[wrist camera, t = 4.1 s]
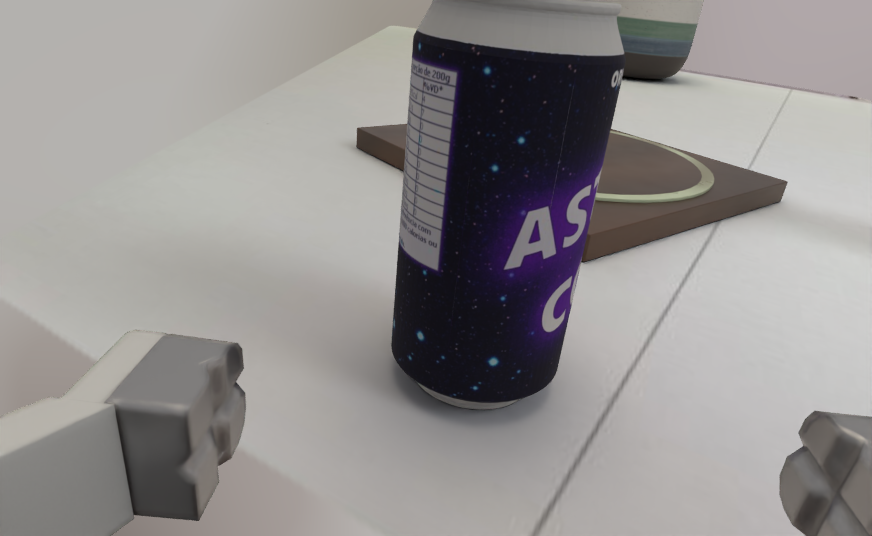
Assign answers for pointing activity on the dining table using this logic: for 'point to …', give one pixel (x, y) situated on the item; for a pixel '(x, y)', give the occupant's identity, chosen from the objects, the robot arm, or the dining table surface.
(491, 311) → the beverage can
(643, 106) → the dining table surface
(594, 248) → the brown flat square board
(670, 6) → the vase
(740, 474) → the dining table surface
